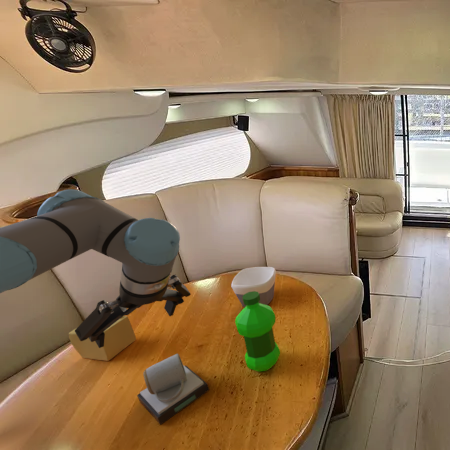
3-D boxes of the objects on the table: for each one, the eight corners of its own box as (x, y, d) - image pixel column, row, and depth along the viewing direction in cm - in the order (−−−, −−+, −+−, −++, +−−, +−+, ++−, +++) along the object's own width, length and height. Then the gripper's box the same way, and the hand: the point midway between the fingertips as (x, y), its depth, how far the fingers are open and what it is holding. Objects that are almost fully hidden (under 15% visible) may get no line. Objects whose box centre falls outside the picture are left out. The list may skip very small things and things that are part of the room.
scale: (160, 425, 77) (157, 416, 76) (139, 401, 83) (136, 392, 82) (209, 390, 87) (207, 381, 86) (187, 371, 93) (185, 363, 92)
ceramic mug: (149, 384, 85) (140, 362, 82) (184, 368, 90) (177, 347, 87) (154, 411, 77) (144, 389, 74) (192, 392, 82) (185, 370, 79)
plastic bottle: (239, 367, 94) (222, 297, 85) (271, 347, 102) (258, 281, 93) (257, 384, 89) (241, 311, 80) (289, 361, 96) (278, 293, 87)
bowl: (245, 290, 133) (240, 267, 129) (282, 287, 135) (279, 265, 131) (231, 312, 119) (225, 287, 115) (273, 309, 121) (268, 285, 117)
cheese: (111, 336, 107) (101, 312, 103) (139, 339, 105) (130, 315, 102) (78, 359, 97) (66, 333, 93) (108, 363, 96) (97, 337, 92)
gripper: (67, 328, 51) (70, 373, 63) (218, 269, 71) (199, 312, 83) (46, 292, 52) (53, 343, 64) (201, 244, 72) (184, 290, 84)
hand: (136, 325), depth 73 cm, fingers open, 13 cm apart
